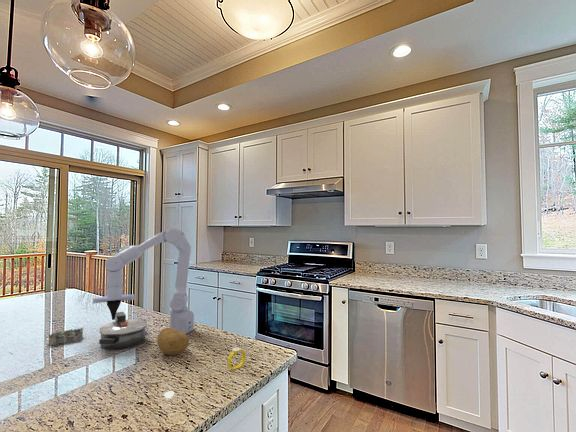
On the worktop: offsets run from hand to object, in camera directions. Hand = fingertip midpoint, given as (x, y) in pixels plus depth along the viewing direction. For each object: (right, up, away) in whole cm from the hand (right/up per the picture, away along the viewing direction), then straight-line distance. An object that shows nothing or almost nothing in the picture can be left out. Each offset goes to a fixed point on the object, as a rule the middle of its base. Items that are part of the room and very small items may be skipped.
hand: (113, 319), depth 120 cm
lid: (+6, -1, -4) cm, 8 cm away
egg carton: (-15, -7, -5) cm, 18 cm away
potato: (+31, -6, -17) cm, 36 cm away
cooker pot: (+8, -6, -5) cm, 12 cm away
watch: (+55, -6, -27) cm, 62 cm away
